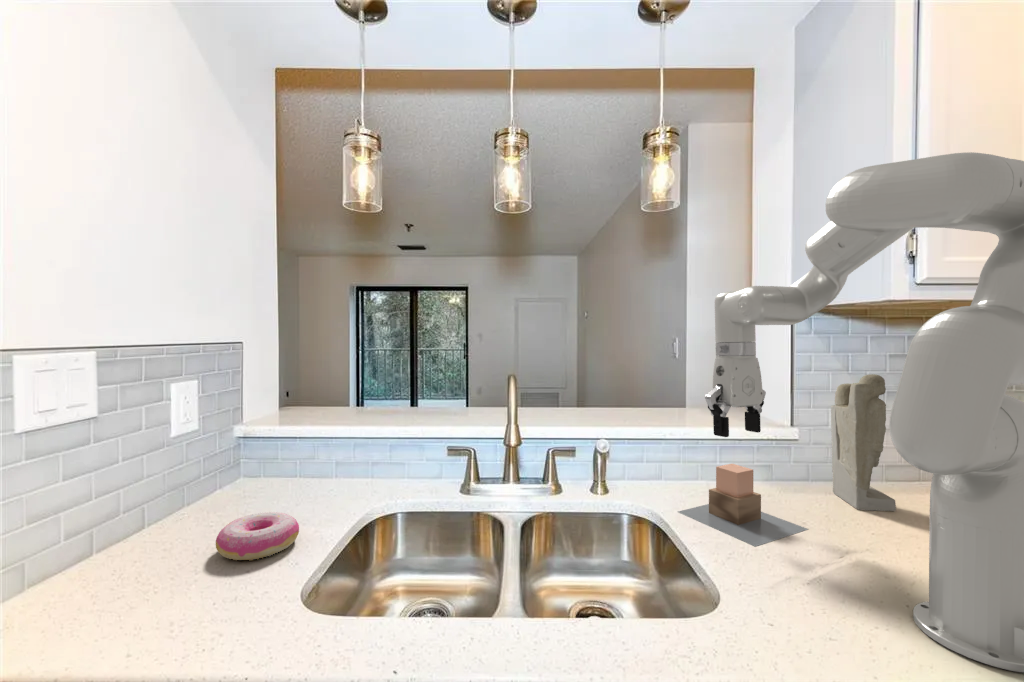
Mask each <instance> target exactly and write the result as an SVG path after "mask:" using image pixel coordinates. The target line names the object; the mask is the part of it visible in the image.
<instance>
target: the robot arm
mask: <svg viewBox="0 0 1024 682" xmlns="http://www.w3.org/2000/svg"><path fill="white" fill-rule="evenodd" d="M825 213H826V214H825V215H826V216H827V218H828V219H829V221H828V222H827V223H826V224H825V225H823V226H822V227H821V228H820V229H818V231H816V232H815V233H814V234H812V235H811V236H810V237H809V238H808V239H807V241H806V243H805V250H804V251H805V253H806V256H807V258H808V260H809V262H810V263H811V264H812V267H811V268H810V270H809V271H808V272H806V274H804V275H803V276H802V277H800V278H799V279H798V280H797V281H795V282H794V283H792V284H791V285H789V286H778V285H752V286H751V285H750V286H747V287H745V288H743V289H739V290H737V291H736V290H734V291H726V292H721V293H719V294H717V295H716V296H715V299H714V330H715V331H714V333H715V337H714V338H715V339H714V340H715V360H714V365H713V375H712V389H711V390H710V391H709V392H708V393H707V394H705V396H704V399H705V401H706V402H705V403H706V404H707V409H708V410H709V411H710V415H711V416H712V417H713V418H712V419H713V420H712V421H713V422H712V423H713V426H712V427H713V435H714V436H718V437H722V438H729V437H730V427H729V426H730V425H729V424H730V419H729V416H727V415H728V413H729V411H730V410H731V407H732V408H745V410H746V411H744V430H745V431H746V432H752V433H761V413H762V412H763V407H764V404H765V398H766V394H767V393H766V391H765V390H764V389H763V381H762V373H761V372H762V371H761V367H760V362H759V359H758V357H757V348H756V347H757V344H756V340H757V338H756V335H757V334H756V326H791V325H795V324H796V325H797V324H799V323H801V322H803V321H805V320H807V319H809V318H810V317H812V316H814V315H815V314H817V313H818V312H819V311H821V310H822V309H824V308H826V307H827V306H828V305H830V303H832V302H833V301H834V300H835V299H836V298H838V295H839V294H840V292H841V291H842V289H843V288H844V287H845V285H846V282H847V279H848V277H849V275H850V274H852V273H853V272H855V271H856V270H857V269H858V268H860V267H861V266H863V265H864V264H865V263H867V262H868V261H870V260H871V259H872V258H874V257H876V255H878V254H880V253H881V252H882V251H884V250H885V249H886V248H887V247H889V246H891V245H892V244H894V243H895V242H896V241H898V240H899V239H901V238H902V237H903V236H905V235H906V234H908V233H909V232H910V231H911V230H913V229H915V228H934V229H935V228H936V229H937V228H945V229H952V230H953V229H954V230H961V231H962V230H963V231H970V232H982V233H983V232H984V233H989V234H991V235H992V234H993V235H995V236H996V237H997V238H998V242H997V245H996V247H995V248H994V249H993V251H992V252H991V253H990V255H989V257H988V258H987V259H986V261H985V263H984V265H983V266H982V269H981V271H980V274H979V278H978V282H977V287H976V290H975V293H974V295H973V298H972V301H971V303H970V305H965V306H957V307H953V308H949V309H946V310H944V311H941V312H939V313H937V314H935V315H934V316H932V317H931V318H929V319H928V320H927V321H926V322H925V323H923V324H922V325H921V326H920V327H919V329H918V331H917V332H916V333H915V334H914V336H913V338H912V340H911V342H910V345H909V347H908V351H907V354H906V357H905V360H904V365H903V367H902V372H901V375H900V379H899V382H898V386H897V389H896V393H895V396H894V400H893V404H892V408H891V412H890V416H889V426H888V428H889V436H890V440H891V442H892V445H893V446H894V449H895V450H896V452H897V453H898V455H900V457H901V458H902V459H903V460H904V461H906V462H907V463H908V464H910V465H911V466H913V467H915V468H917V469H919V470H921V471H924V472H926V473H931V474H932V478H931V483H930V490H929V491H930V492H929V536H928V537H929V540H928V541H929V547H928V550H929V551H928V553H929V554H928V557H929V558H928V561H929V562H928V601H927V600H926V601H922V602H920V603H919V602H918V603H917V604H916V605H915V606H914V608H913V610H912V618H913V621H914V623H915V625H917V627H918V628H919V629H920V630H921V631H922V632H923V633H924V634H926V635H927V636H928V637H929V638H931V639H933V640H934V641H935V642H937V643H939V644H940V645H942V646H943V647H945V648H947V649H949V650H951V651H953V652H954V653H957V654H959V655H961V656H964V657H966V658H968V659H971V660H974V661H976V662H979V663H982V664H984V665H987V666H992V667H995V668H998V669H1002V670H1007V671H1010V672H1014V673H1015V672H1016V673H1023V674H1024V401H1022V400H1021V399H1019V398H1016V397H1015V396H1011V395H1008V394H1006V393H1007V389H1008V387H1010V386H1018V385H1019V386H1020V385H1024V160H1022V159H1015V158H1009V157H1004V156H999V155H996V154H989V153H984V152H983V153H981V152H971V151H970V152H969V151H968V152H955V153H948V154H940V155H933V156H927V157H920V158H914V159H909V160H908V159H907V160H902V161H895V162H889V163H883V164H875V165H870V166H864V167H861V168H858V169H855V170H853V171H851V172H849V173H848V174H846V175H844V176H843V177H841V179H839V180H838V181H837V182H836V183H835V185H834V186H832V188H831V189H830V191H829V192H828V195H827V197H826V200H825Z"/></svg>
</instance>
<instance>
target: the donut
mask: <svg viewBox="0 0 1024 682" xmlns="http://www.w3.org/2000/svg"><path fill="white" fill-rule="evenodd" d="M299 532H300V525H299V522H298V521H297V519H296V518H295V517H293V516H292V515H289V514H287V513H283V512H278V511H277V512H275V511H273V512H272V511H271V512H270V511H269V512H259V513H254V514H250V515H249V514H248V515H245V516H240V517H239V518H237V519H236V518H235V519H234V520H232V521H230V522H229V523H227V524H226V525H225V526H224V527H223V528H221V530H220V531H219V532H218V534H217V536H216V538H215V549H216V550H217V552H218V554H219V555H220V556H222V557H223V558H227V559H228V558H229V560H231V559H233V560H232V561H237V560H249V561H254V560H253V559H257V560H260V559H259V558H262V559H264V558H263V557H266V556H269V557H271V556H270V555H272V556H274V555H276V554H275V553H277V554H279V553H281V552H283V551H285V550H286V549H287V548H289V547H290V546H291V545H292V544H293V543H294V542H295V541H296V540H297V537H298V535H299ZM284 549H285V550H284ZM282 550H283V551H282ZM280 551H281V552H280ZM278 552H279V553H278ZM273 554H274V555H273ZM266 558H267V557H266Z"/></svg>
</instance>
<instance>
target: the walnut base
mask: <svg viewBox="0 0 1024 682" xmlns="http://www.w3.org/2000/svg"><path fill="white" fill-rule="evenodd" d="M708 504H709V513H711V514H713V515H715V516H718V517H720V518H723V519H725V520H727V521H730V522H732V523H735V524H737V525H740V524H744V523H747V522H751V521H754V520H758V519H761V512H762V494H761V493H758V492H755V491H753V494H750V495H746V496H742V497H738V498H737V497H734V496H731V495H728V494H726V493H723V492H720V491H717V490H716V487H713V488H709V489H708Z"/></svg>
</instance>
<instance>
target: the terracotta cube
mask: <svg viewBox="0 0 1024 682" xmlns="http://www.w3.org/2000/svg"><path fill="white" fill-rule="evenodd" d="M715 488H716V490H717V491H720V492H723V493H726V494H728V495H731V496H734V497H737V498H738V497H742V496H746V495H750V494H753V492H754V469H752V468H748V467H746V466H742V465H738V464H735V463H729V464H724V465H718V466H716V467H715Z"/></svg>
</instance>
